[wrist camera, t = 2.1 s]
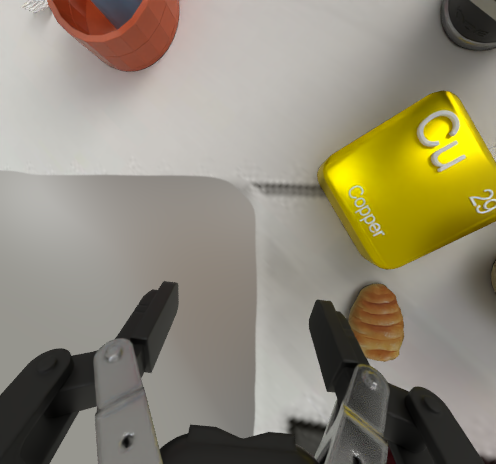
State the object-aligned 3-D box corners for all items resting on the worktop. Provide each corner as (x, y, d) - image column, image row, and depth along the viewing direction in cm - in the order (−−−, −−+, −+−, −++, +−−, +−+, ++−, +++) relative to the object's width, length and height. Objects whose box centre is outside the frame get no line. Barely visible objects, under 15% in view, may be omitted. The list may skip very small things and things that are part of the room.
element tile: (310, 170, 28) (316, 163, 23) (423, 101, 25) (455, 77, 20) (366, 266, 28) (384, 278, 24) (484, 208, 25) (530, 208, 21)
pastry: (346, 280, 29) (357, 291, 25) (400, 282, 28) (419, 293, 24) (343, 343, 30) (353, 362, 26) (395, 347, 29) (412, 368, 25)
